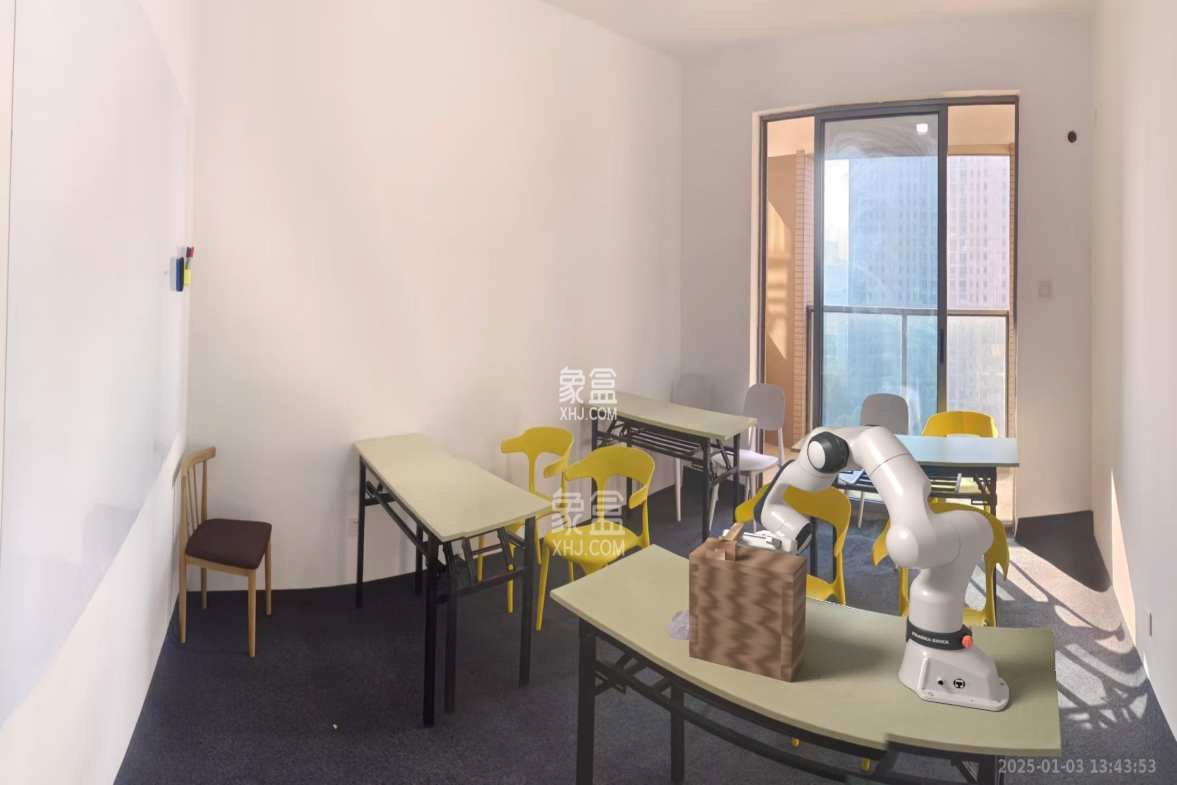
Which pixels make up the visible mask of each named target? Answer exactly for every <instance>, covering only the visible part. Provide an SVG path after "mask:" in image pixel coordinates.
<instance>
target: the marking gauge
mask: <svg viewBox="0 0 1177 785" xmlns="http://www.w3.org/2000/svg"><path fill="white" fill-rule="evenodd" d="M744 532H745V523H742V522H741V523H739V522H734V524H733V525H732V526H731V527H730V529H729V531H728V533H727V534H726V535H725V537H724V536H722V535H719V536H718V538H715V537H707V539H706V540H705V541H706V557H708V558H715V559H720V560H730V561H735V560H736V559H737V557H738V541H739V540H740V538H741V537H742V535H743V534H744Z"/></svg>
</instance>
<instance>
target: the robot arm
mask: <svg viewBox="0 0 1177 785" xmlns="http://www.w3.org/2000/svg"><path fill="white" fill-rule="evenodd" d="M860 470H863V471H864V472H865V473H866V476H867V477H868V479H869V480H870V482H871V483H872V485H873V487H874V488H875V489H876V491H877V493H878V494H879V496H880V498H881V499H882V501H883V503H884V505H885V507H886V509H887V512H888V515H889V522H890V523H889V525H890V526H889V528H888V530H887V532H886V537H885V548H886V552H887V554H888V556H889V557H890V559H891V560H892V561H893V562H894V563H895V565H896V566H898V567H900V568H902V569H907V570H910V569H911V570H921V572H920V573H919V574H918V575H917V576H916V577H915V578H914V579H913V581H912V582H911V585H910V588H909V601H908V615H907V617H906V619H905V628H904V629H905V630H904V633H905V634H904V637H905V643H906V644H905V649H904V653H903V659H902V662H901V665H900V667H899V670H898V672H897V676H898V678H899V680H900V682H901V683H902V684H904V685H905V686H906V687H907V688H909V689H911V690H912V691H913V692H915V693H916V694H917V695H918V696H919V697H920V698H921V699H922V700H925V701H929V702H934V703H941V704H942V703H943V704H947V705H948V704H949V705H953V706H961V707H967V708H973V709H974V708H975V709H980V710H985V711H986V710H987V711H993V712H998V711H1001V710H1003V709H1004V708H1006V707H1007V705H1008V704H1009V702H1010V700H1009V699H1010V689H1009V685H1008V684H1007V682H1006V681H1005V680H1004V679H1003V678H1002V677H1000V676H999V673H998V669H997V666H996V662H994V660H993V658H991V657H990V656H989V655H988V654H986V653H985V652H984V651H983V650H982V649H981V648H979V647H978V646H977V645H976V644H974V639H973V629H972V626H971V625H969V627H967V626H966V625H965V624H964V623H963V622H964V611H965V599H966V593H967V590H968V587H969V583H970V581H971V578H972V576H973V573H974V571H975V570H976V567H977V565H978V563H979V562H980V560H981V559H982V557H983V556H984V555H985V553H986V552H988V551H989V550H990V549H991V547H992V545H993V543H994V530H993V528H992V525H991V523H990V521H989V520H988V519H987V517H985V515H983V514H982V513H980V512H978V511H973V510H964V509H963V510H961V509H954V510H949V511H944V512H939V513H938V512H937V513H935V512H934V511H933V510H932V509H931V508H930V505H929V503H928V498H929V496H930V494H931V491H932V483H931V479H930V478H929V477H928V475H927V474H926V472H925V471H924V469H923V468H922V467H921V465H920V464H919V462H918V461H917V460H916V459H915V457H914V455H913V454H912V453H911V451H910V450H909V449H908V448H907V446H906V445H905V444H904V443H903V442H902V441H901V440H900V439H899V438H898V437H897V436H896V434H894V433H893V432H892V431H891V430H890V429H888V428H887V427H885V426H882V425H878V424H865V425H856V426H843V427H839V428H836V429H835V428H833V427H830V426H824V425H823V426H818V427H816V428H815V429H813V430H812V431H811V432H810V433H809V435H808V436H807V438H806V439H805V441H804V442H803V445H802V446H801V449H800V450H799V454H798V455H797V458H796V459H794V458H793V459H792V458H791V459H789V460H787V461H786V462H785V463H783V465H782V466H780V468H779V470H778V471H777V473H776V474H775V475H774V477H773V478H772V480H771V482H769V484H768V487H767V488H766V490H765V491H764V493H763V494H762V495H761V497H760V498H759V499H758V500H757V502H756V503H755V504H754V506H753V509H752V512H753V514H752V515H753V519H754V521H755V522H756V523H757V524H758V525H760V526H761V527H763V528H764V529H766V530H764V529H763V530H759V531H757V532H755V533H754V532H746V531H744V534H743V535H742V537H741V538H740V540H739V541H738V546H743V547H749V548H755V549H760V550H766V551H772V552H778V553H783V554H789V555H795V556H800V555H801V554H802V553H803V552H804V551H805V550H806V549H807V548H808V547H809V545H811V542H812V540H813V538H814V525H813V523H812V522H811V521H810V520H809V519H808V518H806V517H805V516H803V514H801V513H799V512H798V511H797V510H796V509H795V508H793V507H792V506H791V505H790V504H788V503H787V502H786V500H785V499H784V497H783V495H784V494H785V492H786V491H787V489H788V488H789V486H790V487H793V488H796V489H798V490H801V491H803V492H807V493H818V492H822V491H823V492H824V491H825V490H827V489H829V488H830V487H831V486H832V484H833V483H834V482H835V480H836V478H837V476H838V474H839V473H845V472H852V471H853V472H854V471H855V472H856V471H860ZM729 530H730V529H727V528H726V529H723V531H722V535H721V536H724V537H725V535H726V534H727V533H728V531H729Z"/></svg>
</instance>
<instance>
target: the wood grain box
mask: <svg viewBox="0 0 1177 785" xmlns="http://www.w3.org/2000/svg"><path fill="white" fill-rule="evenodd" d="M807 568H808V557H807V556H800V555H797V556H795V555H789V554H783V553H778V552H772V551H766V550H760V549H755V548H749V547H743V546H738V557H737V559H736V560H735V561H730V560H720V559H715V558H708V557H706V540H705V541H704V542H703V543H701V545H699V546H698V547H696V548H695V549H694V550H693V551H692V552H691V553H689V554H688V593H689V594H688V610H689V640H688V656H689V658H695V659H698V660H702V661H706V662H708V663H713V664H717V665H721V666H726V667H729V668H733V669H737V670H741V671H744V672H748V673H752V674H756V675H760V676H763V677H768V678H772V679H774V680H778V681H783V682H787V683H792V682H793V680H794V679H795V677H796V676H797V674H798V672H799V670H800V669H801V667H802V666H803V664H804V663H805V659H806V658H805V654H806V653H805V652H806V651H805V650H806V647H805V646H806V616H807V615H806V610H807V576H808V575H807V574H808V571H807V570H808V569H807Z"/></svg>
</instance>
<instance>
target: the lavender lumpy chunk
mask: <svg viewBox="0 0 1177 785" xmlns="http://www.w3.org/2000/svg"><path fill="white" fill-rule="evenodd" d="M669 621H670V622H669V623H668V634H669V636H670V637H671V639H674V640H675V639H676V640H679V641H689V609H686V610H679V611H677V612H675V613H674V615H673V616H672V617H671V619H670V620H669Z"/></svg>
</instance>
